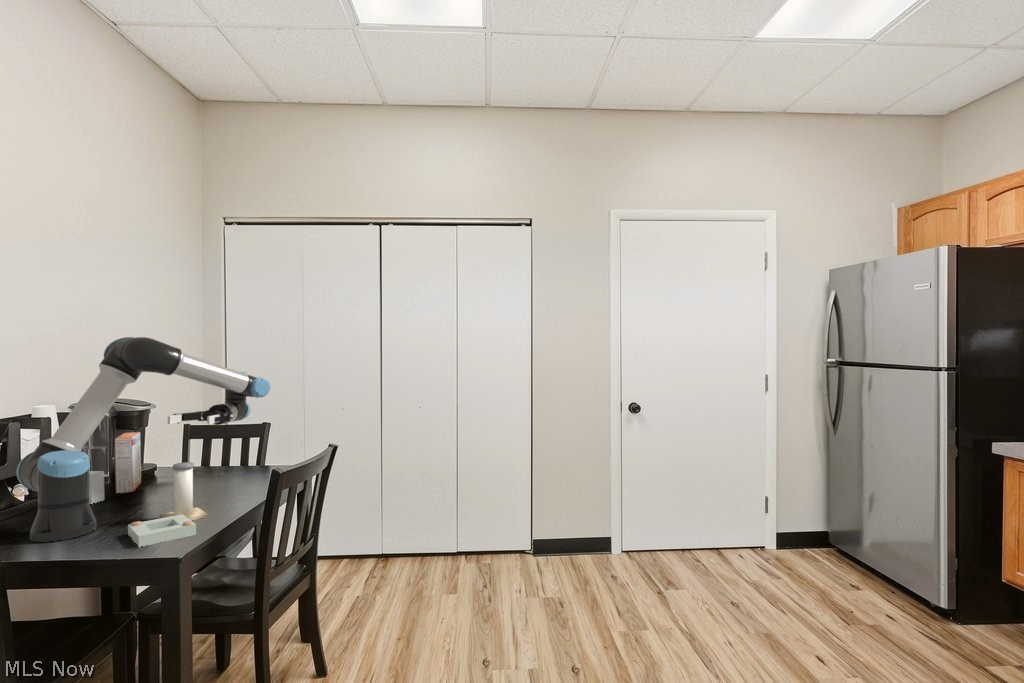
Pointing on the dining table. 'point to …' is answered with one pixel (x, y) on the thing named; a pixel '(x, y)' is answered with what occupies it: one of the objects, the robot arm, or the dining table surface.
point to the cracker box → (127, 462)
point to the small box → (96, 486)
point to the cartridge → (183, 488)
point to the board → (196, 515)
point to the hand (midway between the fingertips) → (188, 420)
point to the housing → (161, 530)
